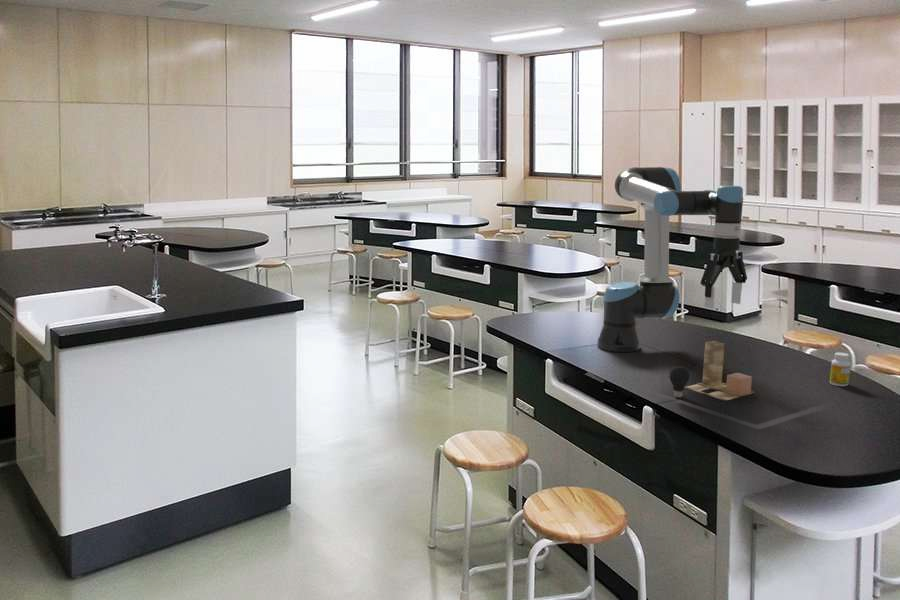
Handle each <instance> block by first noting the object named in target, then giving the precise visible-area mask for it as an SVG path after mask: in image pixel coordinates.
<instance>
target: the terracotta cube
mask: <svg viewBox="0 0 900 600" xmlns="http://www.w3.org/2000/svg"><path fill="white" fill-rule="evenodd" d="M752 381H753V376H751V375H748V374H744V373H740V372H734V373H730V374H727V375H726V391H727V392H730V393H734V394H737V395H740V396H741V395H745V394H748V393H751V391H752ZM748 395H749V394H748ZM745 396H746V395H745ZM741 397H742V396H741Z"/></svg>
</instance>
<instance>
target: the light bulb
mask: <svg viewBox="0 0 900 600" xmlns="http://www.w3.org/2000/svg"><path fill="white" fill-rule="evenodd" d="M669 380H670V383H671V384H672V388H673V397H675V398H676V400H680V398H682V397H683V393H684V390H685V388H684V387H686V385H687V383H688V382H689V380H690V371H689V370H688V369H687V368H686V367H685V366H683V365H676V366H673V367H672V369H671V370H670V372H669Z"/></svg>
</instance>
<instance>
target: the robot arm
mask: <svg viewBox="0 0 900 600" xmlns="http://www.w3.org/2000/svg"><path fill="white" fill-rule="evenodd" d="M615 178H616V179H615V182H614V190H615V192H616V194H617V196H619V197H620V198H621V199H623V200H624V201H627V202H628V201H629V202H634V201H636V202H639V203H640V207H641V208H642V209H643V210H644V256H643V257H644V260H643V262H644V266H643V269H644V275H643V277H642V278H641V279H640V280H639V284H638V283H637V282H633V281H622V282H615V283H612V284H609V285H607V287H606V288H605V291H604V297H603V300H604V302H603V304H604V306H603V307H604V308H603V322H602V323H603V325H602V328H601V331H600V333H599V337H598V338H597V347H598V348H599V349H601V350H604V351H607V352H613V353H614V352H616V353H631V352H637V351H640V349H641V341H640V340H639V333H638V330H637V320H638V319H657V318H658V319H662V318H670V317H672V316H673V315H674V314H675V313H676V312H677V310H678V308H679V304H680V292H679V288H678V287H677V285H674V280H673V279H671V277H670V275H669V272H670V217H671V216H715V218H714V233H713V235H714V236H715V237H713V249H714V250H716V252H715V253H709V255H708V261H707V264H706V266H705V269H704V272H703V274H702V277H701V281H700V285H701V286H702V287H704V288H705V289H704V308H708V309H714V308H715V291H716V287H715V286H714V285H715V283H716V282H717V279H718V278H719V277H720V275H721V272H722V270H724V269H726V268H728V270H729V272H730V274H731V276H732V278H733V280H734V281H733V282H732V286H731V287H732V290H731V301H730V302H731V304H736V305H741V301H742V300H741V299H742V297H741V296H742V289H743V288H742V287H743V284H745V283H746V281H747V279H748V276H747V271H746V268H745V263H744V259H743V258H744V255H743V251H740V247H741V246H740V245H741V244H740V243H741V238H739V237H740V236H741V230H742V229H741V227H742V226H741V225H742V216H743V203H744V189H743V187H742V186H740V185H719V186H718V187H717V188H716V189H717V190H716V191H715V190H711V189H709V190H707V189H706V190H705V189H704V190H688V191H687V190H686V191H685V190H681V189H682V186H681V181H680V180H681V179H680V176H679V174H678V173H677V172H676V171H675V170H674V168H671V167H662V166H658V167H657V166H655V167H651V166H650V167H649V166H648V167H629V168H627V169H624V170H622V171H621V172H620V173H619V174H618V175H617V177H615Z"/></svg>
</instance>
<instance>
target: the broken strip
mask: <svg viewBox="0 0 900 600" xmlns="http://www.w3.org/2000/svg"><path fill="white" fill-rule="evenodd" d="M686 387H689V388H692V389H695V390H698V391H701V392H703V391H705V390H710V389H711V388H708V387H705V386H702V385H698V384H697V383H696V384H692V385H688V386H686ZM707 393H708V392H707ZM708 394H711V395H714V396H717V397H721V398H724V399H727V400H726V401H729V400H733V399H734V400H735V399H738V396H734V395H731V394H728V393H725V392H721V391H718V390H715V391H713V392H710V393H708Z"/></svg>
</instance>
